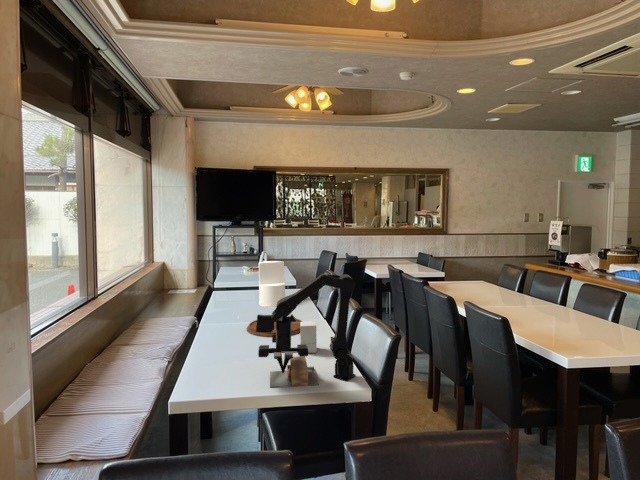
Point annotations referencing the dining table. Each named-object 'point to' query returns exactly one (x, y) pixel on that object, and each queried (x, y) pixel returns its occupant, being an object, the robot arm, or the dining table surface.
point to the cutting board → (294, 329)
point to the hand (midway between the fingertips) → (283, 372)
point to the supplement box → (308, 335)
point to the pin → (310, 370)
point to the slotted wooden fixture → (294, 375)
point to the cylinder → (271, 283)
